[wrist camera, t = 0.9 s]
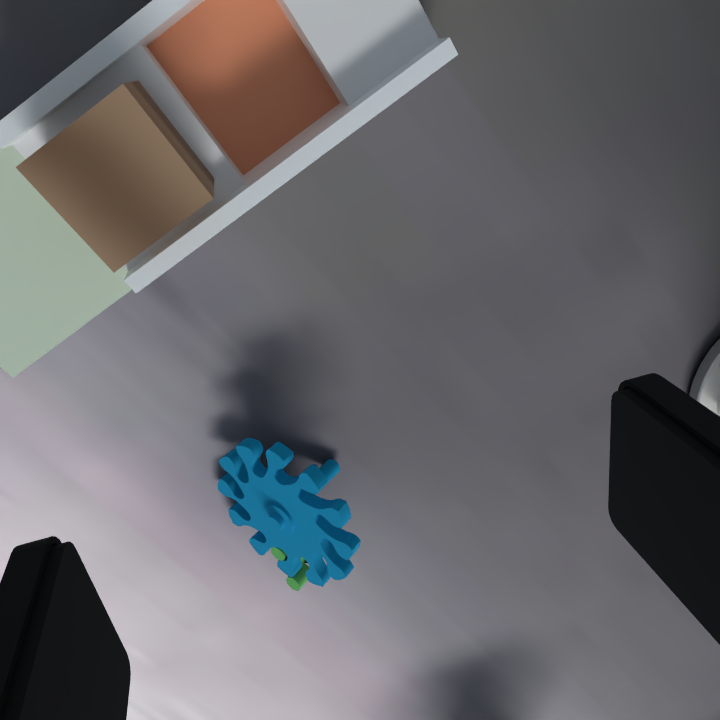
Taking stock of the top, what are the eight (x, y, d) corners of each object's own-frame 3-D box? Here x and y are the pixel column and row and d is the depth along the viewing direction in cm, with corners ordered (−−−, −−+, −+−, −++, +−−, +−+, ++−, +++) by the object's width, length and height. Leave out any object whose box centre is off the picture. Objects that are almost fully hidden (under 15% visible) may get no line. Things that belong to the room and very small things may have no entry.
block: (138, 80, 27) (122, 83, 23) (214, 178, 30) (213, 198, 25) (48, 150, 28) (15, 167, 23) (129, 242, 30) (113, 272, 25)
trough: (331, -125, 28) (349, -156, 24) (428, 55, 32) (458, 54, 28) (-113, 224, 30) (-163, 249, 26) (28, 353, 34) (3, 391, 30)
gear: (199, 425, 36) (344, 496, 32) (267, 376, 40) (404, 432, 36) (221, 556, 42) (346, 632, 38) (279, 502, 46) (398, 564, 42)
